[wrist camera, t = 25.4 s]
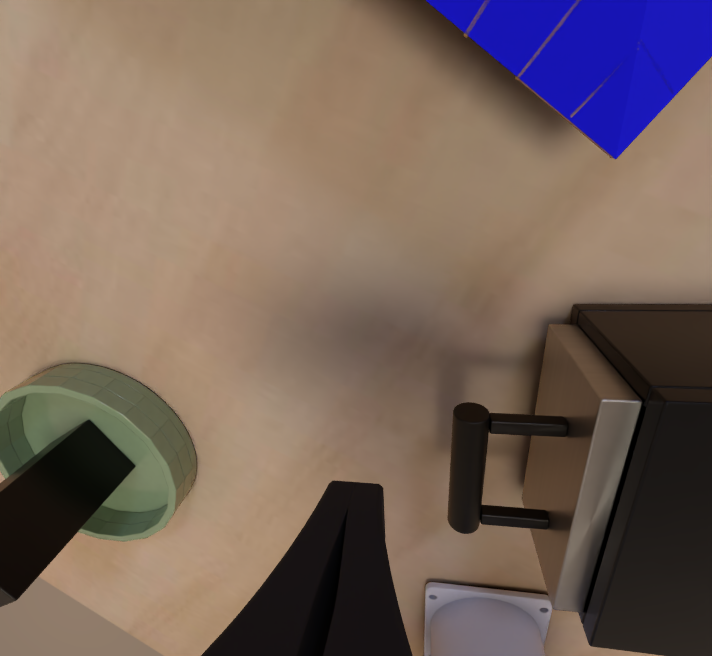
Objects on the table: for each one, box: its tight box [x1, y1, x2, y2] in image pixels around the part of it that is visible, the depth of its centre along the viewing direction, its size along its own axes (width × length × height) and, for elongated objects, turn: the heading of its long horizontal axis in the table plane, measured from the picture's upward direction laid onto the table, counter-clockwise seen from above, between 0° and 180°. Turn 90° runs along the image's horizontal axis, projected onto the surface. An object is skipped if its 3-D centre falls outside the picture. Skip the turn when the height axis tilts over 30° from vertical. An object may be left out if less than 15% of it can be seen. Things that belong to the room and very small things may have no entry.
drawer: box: [448, 324, 646, 613], centre depth 16 cm, size 17×10×6 cm, turn 93°
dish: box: [0, 363, 197, 542], centre depth 25 cm, size 12×12×2 cm
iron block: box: [0, 420, 136, 607], centre depth 22 cm, size 4×4×8 cm
